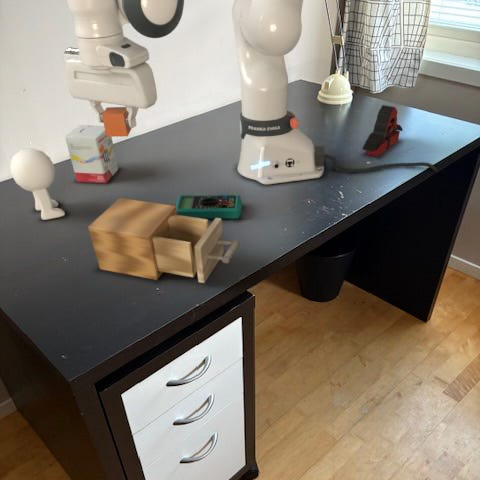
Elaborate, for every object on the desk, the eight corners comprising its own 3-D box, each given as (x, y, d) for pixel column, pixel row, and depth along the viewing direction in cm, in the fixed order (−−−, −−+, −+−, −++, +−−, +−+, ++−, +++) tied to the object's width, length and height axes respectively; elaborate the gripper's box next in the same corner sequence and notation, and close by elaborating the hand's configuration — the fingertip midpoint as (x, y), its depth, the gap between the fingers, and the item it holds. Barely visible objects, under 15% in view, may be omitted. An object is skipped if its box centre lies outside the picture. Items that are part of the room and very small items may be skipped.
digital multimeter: (241, 220, 106) (240, 208, 104) (175, 221, 107) (173, 209, 105) (242, 204, 112) (241, 192, 110) (179, 205, 112) (178, 193, 110)
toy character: (72, 214, 110) (53, 151, 100) (33, 226, 107) (9, 162, 97) (61, 199, 116) (41, 138, 106) (23, 210, 113) (-1, 148, 103)
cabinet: (182, 247, 99) (176, 205, 92) (157, 280, 91) (148, 237, 84) (128, 238, 102) (119, 197, 96) (99, 269, 94) (87, 227, 88)
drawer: (244, 256, 94) (243, 221, 89) (226, 287, 87) (223, 251, 82) (171, 244, 98) (166, 210, 93) (148, 272, 91) (141, 238, 86)
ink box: (106, 183, 122) (95, 137, 114) (76, 181, 123) (63, 136, 115) (119, 169, 128) (109, 124, 120) (90, 167, 130) (78, 123, 122)
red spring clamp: (389, 136, 138) (397, 95, 131) (401, 138, 137) (409, 98, 129) (360, 158, 128) (366, 115, 120) (372, 161, 126) (379, 117, 119)
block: (131, 128, 103) (127, 106, 100) (127, 136, 99) (123, 114, 96) (111, 128, 103) (106, 107, 100) (106, 137, 100) (101, 114, 97)
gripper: (50, 50, 92) (70, 122, 102) (135, 59, 85) (148, 136, 94) (72, 42, 96) (89, 113, 106) (155, 50, 89) (166, 125, 98)
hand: (117, 124), depth 100 cm, fingers closed on block, 6 cm apart
